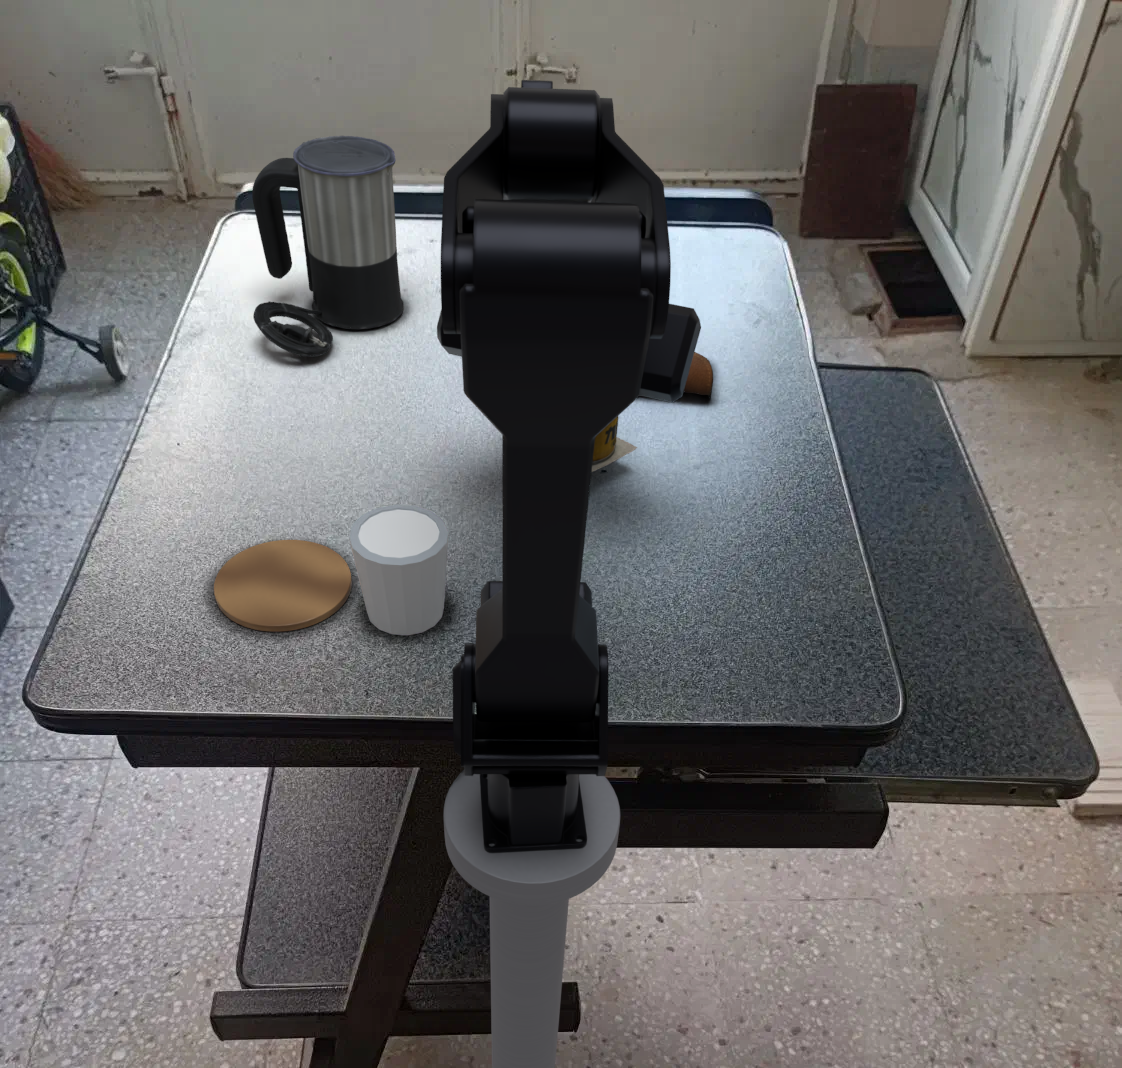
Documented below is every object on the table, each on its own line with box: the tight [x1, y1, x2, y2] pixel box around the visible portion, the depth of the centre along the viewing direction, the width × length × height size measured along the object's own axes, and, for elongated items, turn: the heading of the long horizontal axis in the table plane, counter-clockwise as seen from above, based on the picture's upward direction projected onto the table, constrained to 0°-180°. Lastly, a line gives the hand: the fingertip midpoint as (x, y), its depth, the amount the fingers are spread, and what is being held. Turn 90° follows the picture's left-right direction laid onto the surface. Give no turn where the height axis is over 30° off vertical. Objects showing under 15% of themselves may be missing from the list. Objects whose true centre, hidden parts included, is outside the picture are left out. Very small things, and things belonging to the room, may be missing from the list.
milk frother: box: [251, 135, 405, 358], centre depth 102 cm, size 14×16×15 cm
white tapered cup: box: [348, 503, 450, 636], centre depth 77 cm, size 7×7×7 cm
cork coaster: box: [213, 539, 353, 633], centre depth 81 cm, size 10×10×1 cm
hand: (587, 370), depth 87 cm, fingers closed on condiment, 6 cm apart
